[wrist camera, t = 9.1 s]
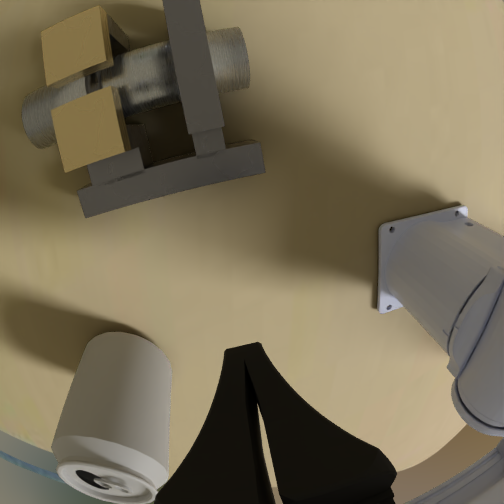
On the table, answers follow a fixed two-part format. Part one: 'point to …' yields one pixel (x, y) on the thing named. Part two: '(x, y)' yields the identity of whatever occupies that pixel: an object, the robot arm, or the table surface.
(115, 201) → the collar bracket
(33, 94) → the tube
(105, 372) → the can
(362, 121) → the table surface
